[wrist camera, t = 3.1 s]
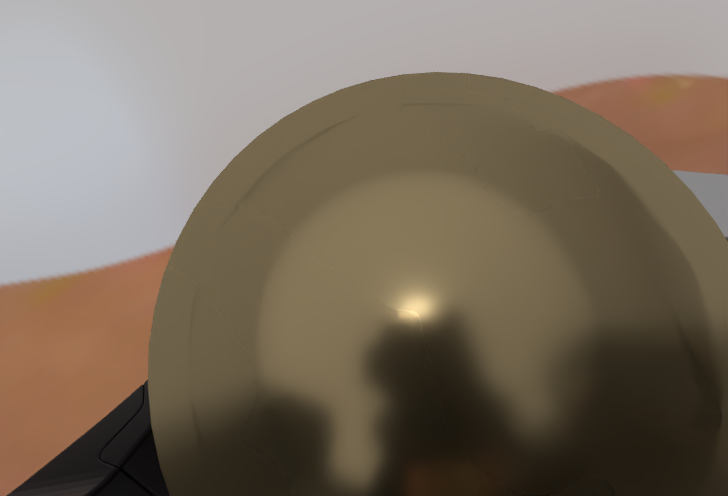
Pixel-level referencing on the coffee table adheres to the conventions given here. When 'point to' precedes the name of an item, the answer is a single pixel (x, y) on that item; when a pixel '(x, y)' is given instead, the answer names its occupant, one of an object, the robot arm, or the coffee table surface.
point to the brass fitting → (443, 307)
